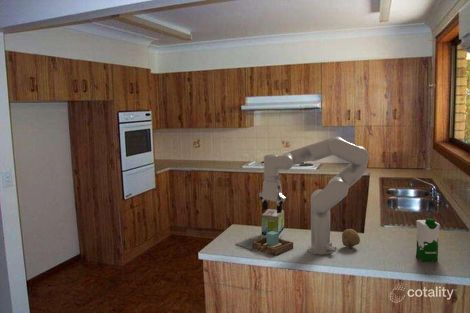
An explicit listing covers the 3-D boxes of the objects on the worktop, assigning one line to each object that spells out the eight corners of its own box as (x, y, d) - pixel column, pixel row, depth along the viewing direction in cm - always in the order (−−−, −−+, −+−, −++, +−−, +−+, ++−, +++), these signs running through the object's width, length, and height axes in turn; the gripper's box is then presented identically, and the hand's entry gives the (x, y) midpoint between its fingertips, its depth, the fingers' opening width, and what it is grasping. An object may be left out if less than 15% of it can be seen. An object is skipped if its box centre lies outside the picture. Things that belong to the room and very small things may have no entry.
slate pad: (266, 244, 220) (266, 243, 220) (251, 250, 212) (251, 249, 212) (250, 239, 229) (250, 238, 229) (235, 244, 221) (235, 243, 221)
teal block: (278, 243, 213) (278, 232, 212) (273, 246, 210) (273, 234, 209) (272, 242, 216) (272, 231, 215) (266, 244, 213) (266, 233, 212)
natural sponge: (361, 246, 213) (361, 227, 212) (357, 251, 205) (357, 232, 204) (344, 243, 217) (344, 225, 216) (339, 249, 210) (339, 230, 209)
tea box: (278, 242, 223) (278, 216, 221) (261, 240, 226) (260, 215, 224) (284, 234, 237) (284, 209, 235) (267, 232, 240) (267, 208, 238)
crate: (293, 248, 212) (293, 242, 212) (275, 256, 203) (275, 249, 202) (270, 241, 224) (270, 235, 223) (252, 248, 214) (252, 242, 214)
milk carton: (422, 262, 190) (423, 220, 187) (413, 255, 199) (414, 215, 196) (440, 261, 190) (442, 220, 187) (430, 254, 199) (432, 214, 196)
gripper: (289, 179, 205) (289, 212, 207) (264, 175, 217) (264, 207, 219) (279, 181, 200) (280, 215, 202) (254, 177, 212) (254, 209, 214)
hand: (272, 211), depth 211 cm, fingers open, 9 cm apart
